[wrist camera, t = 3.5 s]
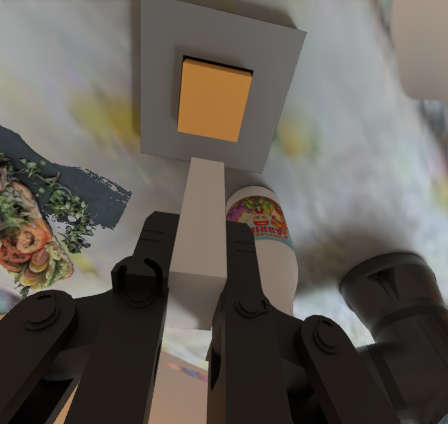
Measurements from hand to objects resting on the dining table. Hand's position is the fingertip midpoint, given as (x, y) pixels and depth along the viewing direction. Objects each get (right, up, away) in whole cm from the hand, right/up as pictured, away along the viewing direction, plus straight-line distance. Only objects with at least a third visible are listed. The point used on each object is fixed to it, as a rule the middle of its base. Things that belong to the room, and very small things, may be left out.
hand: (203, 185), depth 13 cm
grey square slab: (0, +11, +15) cm, 19 cm away
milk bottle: (+5, 0, +25) cm, 25 cm away
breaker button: (0, +10, +13) cm, 17 cm away
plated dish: (-28, -3, +27) cm, 39 cm away
